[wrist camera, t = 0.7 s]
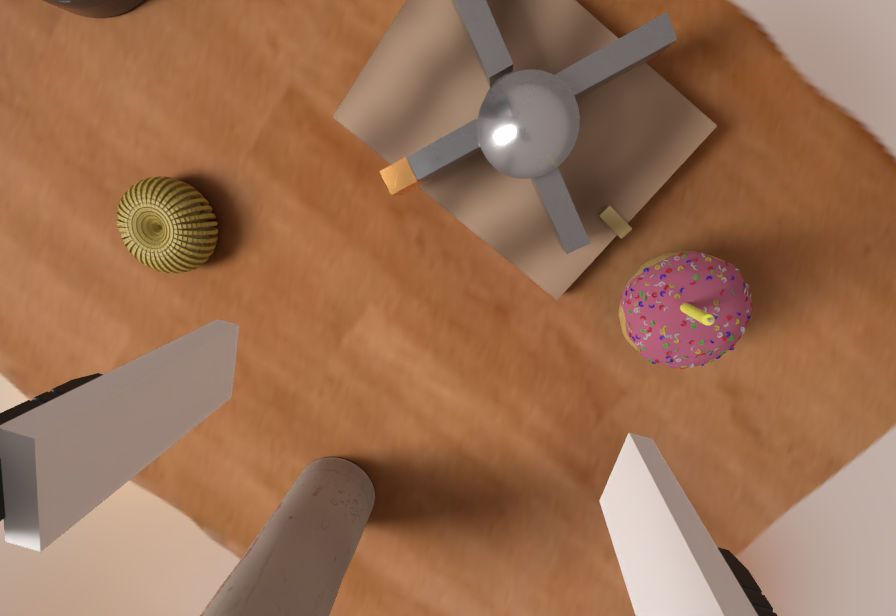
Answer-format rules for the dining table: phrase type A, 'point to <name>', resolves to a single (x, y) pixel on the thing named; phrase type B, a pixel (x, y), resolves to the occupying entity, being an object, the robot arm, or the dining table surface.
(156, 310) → the dining table surface
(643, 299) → the cupcake
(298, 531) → the thermos bottle
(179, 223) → the sculpture
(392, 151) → the stand
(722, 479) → the dining table surface
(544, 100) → the capstan
